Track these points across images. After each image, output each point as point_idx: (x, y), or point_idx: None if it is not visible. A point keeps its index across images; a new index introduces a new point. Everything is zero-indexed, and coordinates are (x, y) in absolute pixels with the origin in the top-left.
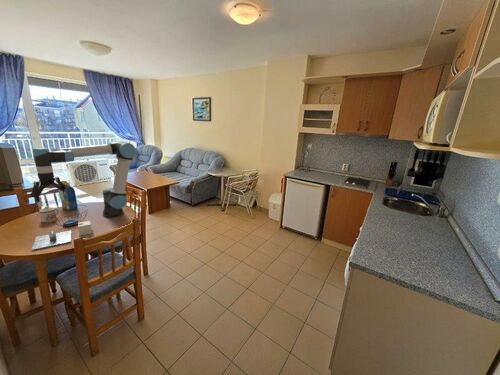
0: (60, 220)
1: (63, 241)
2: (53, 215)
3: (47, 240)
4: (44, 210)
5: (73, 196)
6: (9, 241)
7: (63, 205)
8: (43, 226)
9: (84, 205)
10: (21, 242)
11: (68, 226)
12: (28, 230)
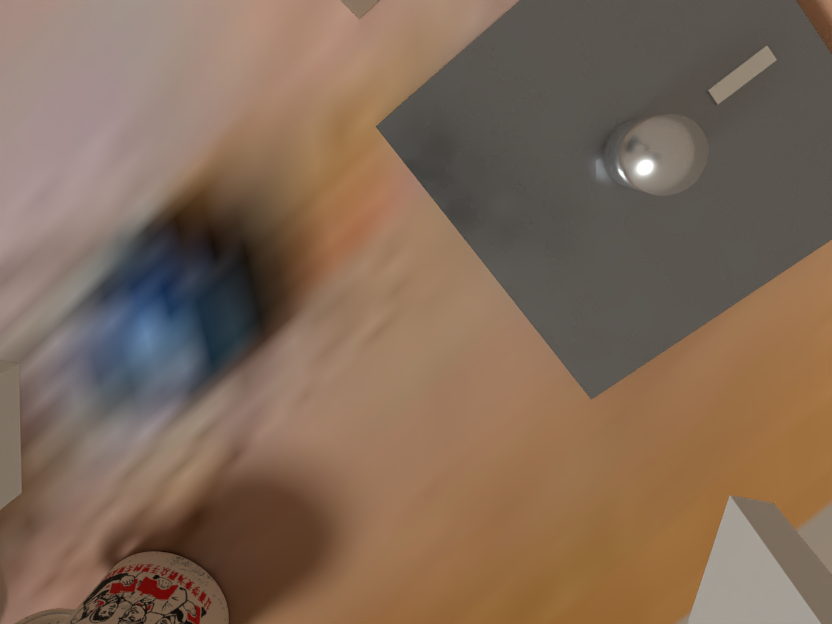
0: (137, 496)
1: None
2: (123, 597)
3: (677, 194)
4: None
5: None
6: (678, 579)
7: None
8: (314, 545)
9: None
10: (696, 456)
11: (255, 284)
12: (427, 607)
